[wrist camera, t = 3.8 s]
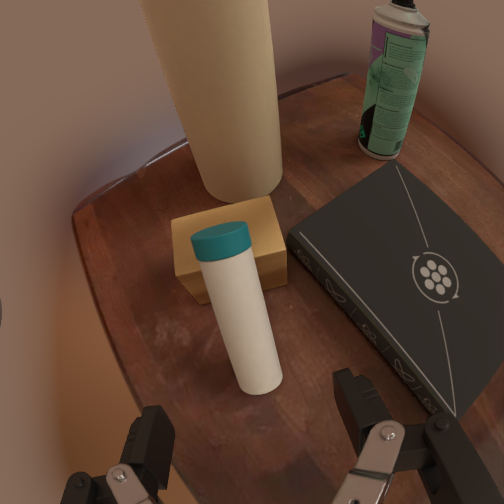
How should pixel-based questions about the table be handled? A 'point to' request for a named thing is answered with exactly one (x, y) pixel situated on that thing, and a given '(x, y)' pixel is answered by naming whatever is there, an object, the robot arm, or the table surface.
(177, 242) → the prop block
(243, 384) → the vial
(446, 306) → the book
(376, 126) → the spray can
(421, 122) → the table surface
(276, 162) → the pedestal
